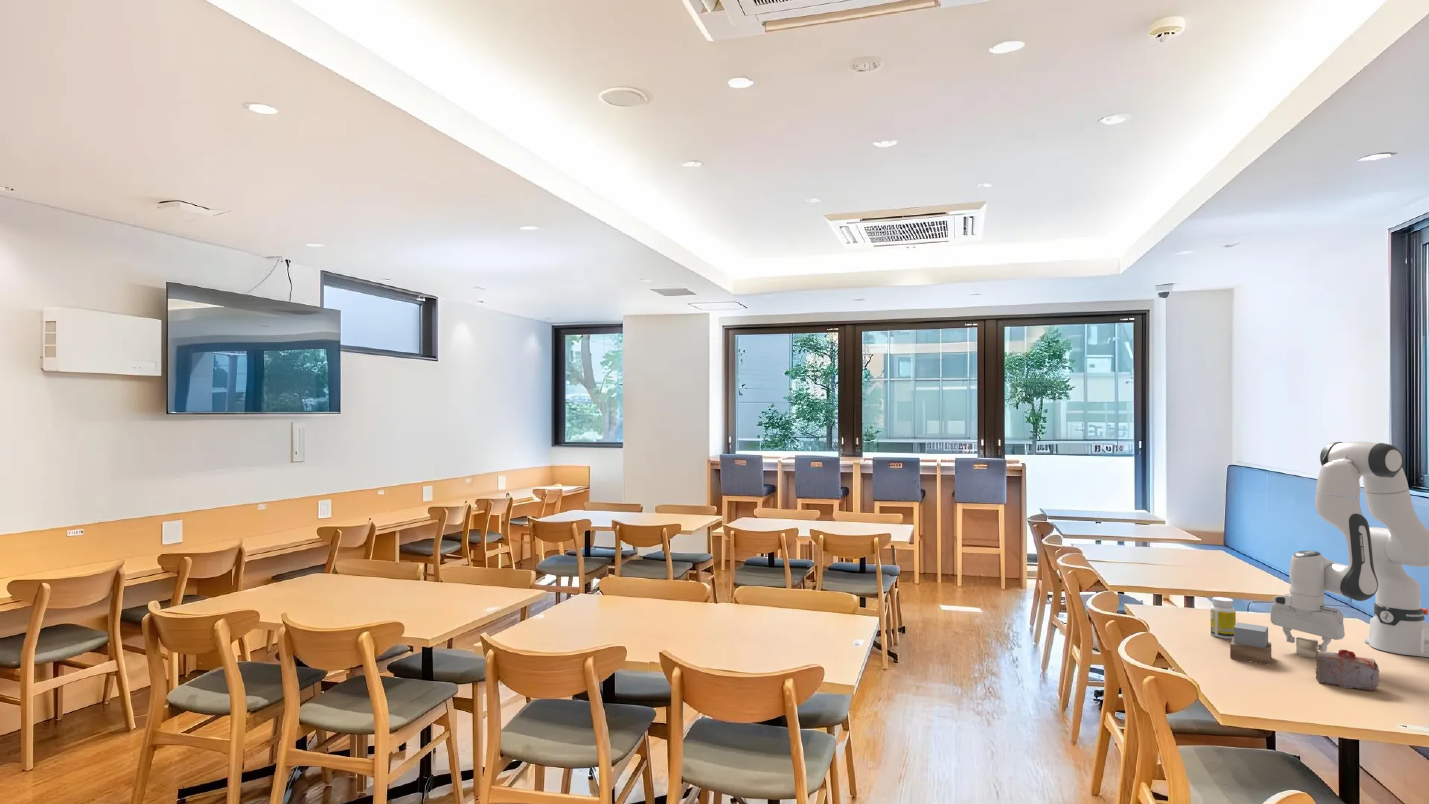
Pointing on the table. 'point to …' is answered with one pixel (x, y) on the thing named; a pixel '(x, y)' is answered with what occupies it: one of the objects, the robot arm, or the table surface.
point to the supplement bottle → (1222, 618)
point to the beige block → (1306, 647)
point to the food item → (1347, 670)
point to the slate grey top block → (1251, 635)
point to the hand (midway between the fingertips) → (1306, 646)
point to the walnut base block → (1250, 653)
